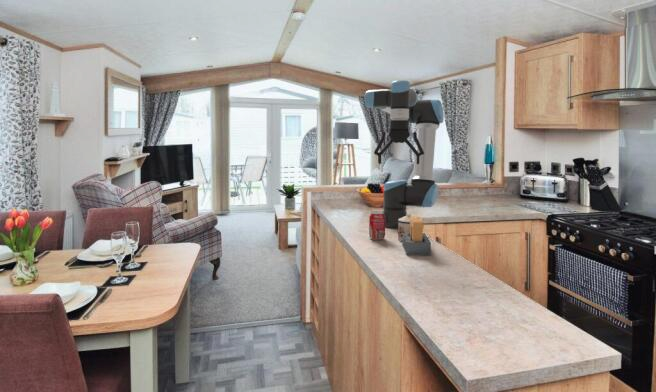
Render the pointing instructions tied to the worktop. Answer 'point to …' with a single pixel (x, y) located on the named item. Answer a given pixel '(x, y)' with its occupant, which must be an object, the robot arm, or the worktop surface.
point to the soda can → (377, 225)
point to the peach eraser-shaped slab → (416, 228)
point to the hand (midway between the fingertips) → (398, 172)
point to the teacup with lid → (403, 226)
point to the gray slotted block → (416, 245)
